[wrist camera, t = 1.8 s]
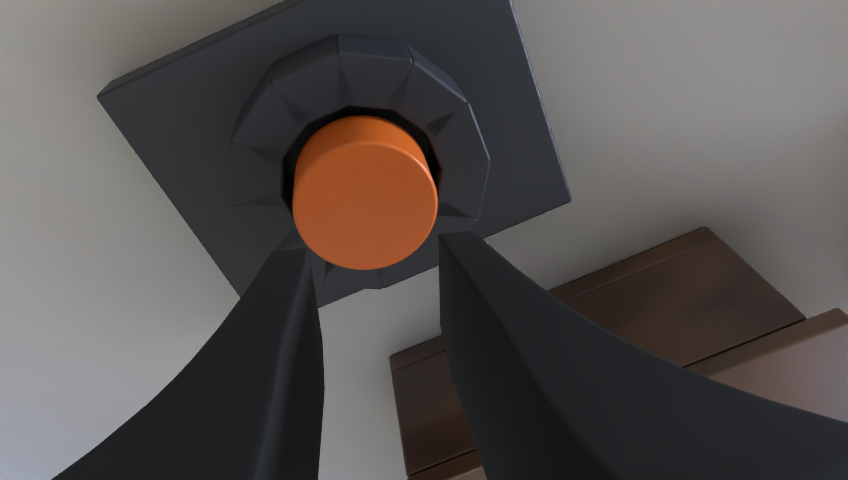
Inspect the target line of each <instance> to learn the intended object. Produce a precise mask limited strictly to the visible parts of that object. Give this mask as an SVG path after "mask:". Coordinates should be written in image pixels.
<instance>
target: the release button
mask: <svg viewBox="0 0 848 480" xmlns="http://www.w3.org/2000/svg"><path fill="white" fill-rule="evenodd" d="M437 208H438V198H437V191H436V187H435V184H434V181H433V179H432V176H431V173H430V171H429V168H428V165H427V163H426V160H425V157H424V155H423V152H422V150H421V148H420V146H419V145H418V143H417V142H416V141H415V139H414V138H413V137H412V136H411V135H410V134H409V133H408V132H407V131H406V130H404V129H403V128H402V127H400V126H399V125H397V124H395V123H394V122H391V121H389V120H387V119H383V118H380V117H375V116H369V115H356V116H349V117H344V118H340V119H338V120H335V121H332V122H331V123H329V124H327V125H325V126H323V127H322V128H321V129H319V130H318V131H317V132H315V133H314V134H313V135H312V136H311V137H310V139H309V140H308V141H307V142H306V143H305V145H304V147H303V148H302V150H301V152H300V154H299V157H298V159H297V163H296V168H295V178H294V191H293V216H294V222H295V224H296V227H297V230H298V232H299V234H300V236H301V237H302V239H303V240H304V242H305V243H306V244H307V245H308V246H309V248H310V249H311V250H312V251H314V252H315V253H316V254H317V255H318V256H320V257H321V258H323V259H325V260H326V261H328V262H330V263H332V264H334V265H337V266H340V267H344V268H349V269H356V270H371V269H378V268H383V267H387V266H389V265H392V264H395V263H397V262H399V261H401V260H403V259H404V258H406V257H408V256H409V255H411V254H412V253H413V252H414V251H415V250H417V249H418V248H419V246H420V245H421V244H422V243H423V242H424V241H425V239H426V238H427V236H428V235H429V233H430V231H431V229H432V227H433V225H434V222H435V219H436V215H437Z"/></svg>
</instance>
